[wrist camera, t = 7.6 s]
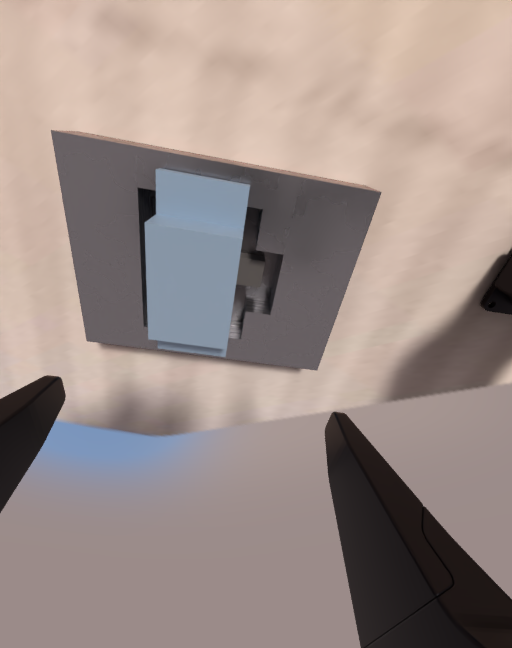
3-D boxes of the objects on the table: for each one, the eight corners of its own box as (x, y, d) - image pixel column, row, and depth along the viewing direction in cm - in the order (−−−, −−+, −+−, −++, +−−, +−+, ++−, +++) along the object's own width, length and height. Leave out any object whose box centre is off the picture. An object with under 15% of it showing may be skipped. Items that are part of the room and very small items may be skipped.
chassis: (365, 185, 17) (381, 192, 15) (311, 349, 23) (317, 370, 21) (78, 131, 16) (51, 130, 13) (103, 321, 22) (86, 341, 20)
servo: (278, 184, 17) (286, 199, 13) (250, 333, 22) (248, 378, 18) (172, 164, 16) (142, 173, 12) (169, 322, 22) (149, 366, 17)
